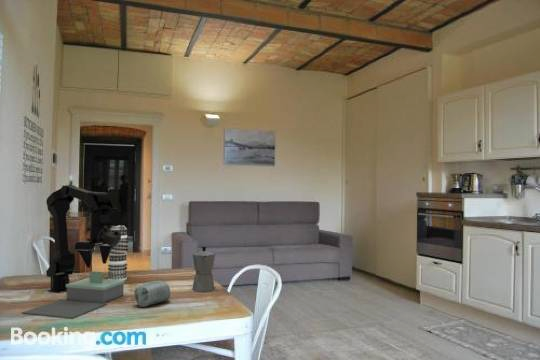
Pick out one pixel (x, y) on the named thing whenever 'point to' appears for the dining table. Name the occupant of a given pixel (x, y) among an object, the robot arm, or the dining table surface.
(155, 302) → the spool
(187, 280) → the dining table surface
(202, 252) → the coffeepot
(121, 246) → the decorative candle
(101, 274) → the lid
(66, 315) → the mat
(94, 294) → the tub
